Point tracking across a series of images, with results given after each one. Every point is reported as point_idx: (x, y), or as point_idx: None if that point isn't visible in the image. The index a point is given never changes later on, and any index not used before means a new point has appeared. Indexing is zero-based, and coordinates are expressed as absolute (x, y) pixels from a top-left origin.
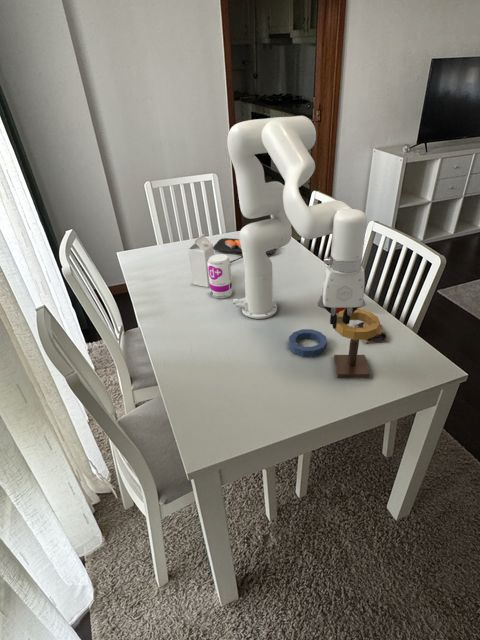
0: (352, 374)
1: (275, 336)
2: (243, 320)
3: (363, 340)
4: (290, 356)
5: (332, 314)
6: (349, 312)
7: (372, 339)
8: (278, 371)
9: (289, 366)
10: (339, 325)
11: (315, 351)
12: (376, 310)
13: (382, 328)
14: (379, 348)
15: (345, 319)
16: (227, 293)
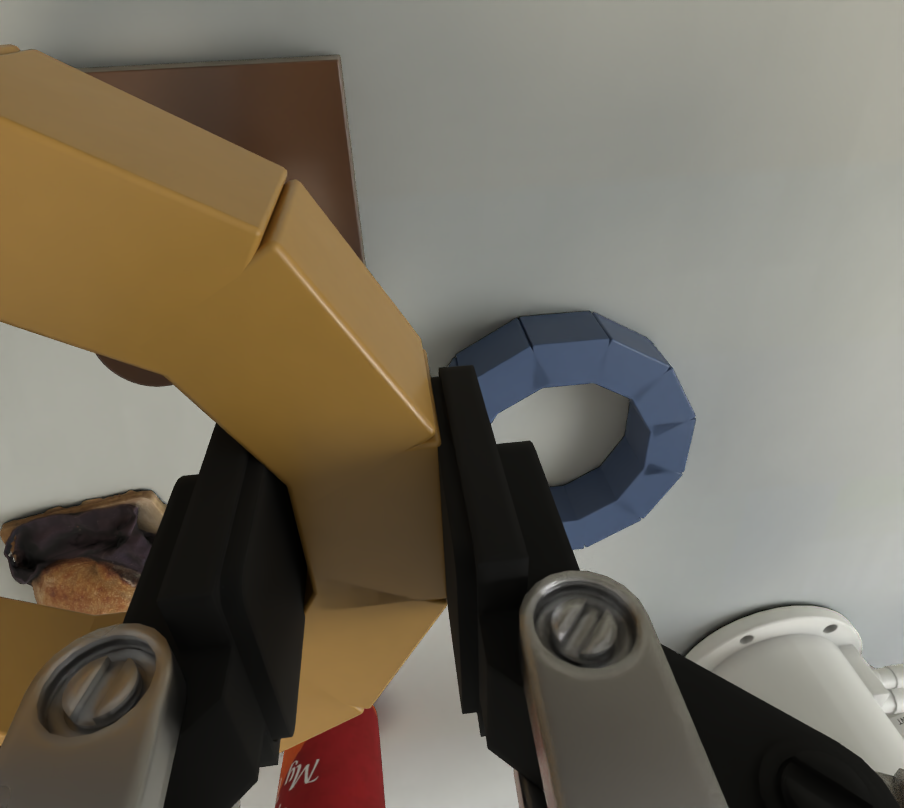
0: (197, 65)
1: (730, 488)
2: (866, 586)
3: None
4: (681, 310)
5: (587, 610)
6: (94, 733)
7: (103, 523)
8: (812, 121)
9: (713, 193)
10: (373, 360)
11: (518, 345)
12: None
13: None
14: (42, 452)
15: (235, 527)
16: (900, 734)
